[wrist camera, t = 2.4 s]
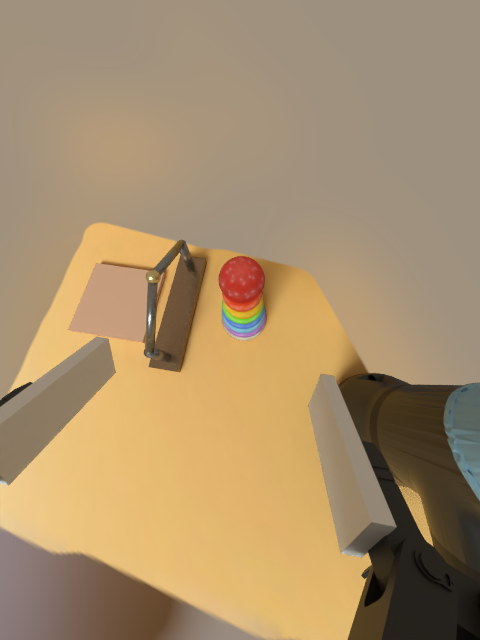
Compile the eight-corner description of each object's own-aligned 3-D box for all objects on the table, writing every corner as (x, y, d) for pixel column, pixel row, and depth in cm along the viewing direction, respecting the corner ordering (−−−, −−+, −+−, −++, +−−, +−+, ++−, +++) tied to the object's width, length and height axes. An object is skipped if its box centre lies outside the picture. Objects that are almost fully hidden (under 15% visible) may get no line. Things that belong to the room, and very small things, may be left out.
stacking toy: (232, 295, 40) (223, 223, 22) (271, 309, 39) (295, 246, 21) (215, 332, 38) (191, 286, 20) (256, 348, 37) (270, 314, 19)
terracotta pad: (165, 275, 41) (163, 272, 40) (144, 343, 37) (142, 342, 36) (99, 265, 42) (96, 263, 41) (72, 331, 38) (68, 330, 37)
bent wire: (180, 372, 36) (143, 365, 23) (152, 367, 36) (99, 357, 23) (206, 262, 42) (189, 207, 29) (182, 259, 42) (155, 202, 29)
